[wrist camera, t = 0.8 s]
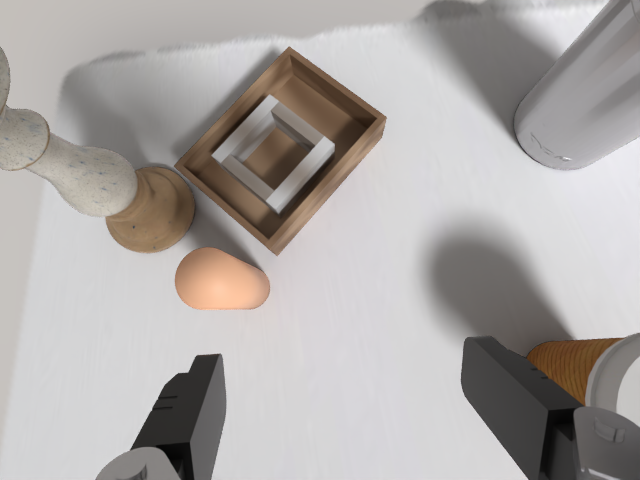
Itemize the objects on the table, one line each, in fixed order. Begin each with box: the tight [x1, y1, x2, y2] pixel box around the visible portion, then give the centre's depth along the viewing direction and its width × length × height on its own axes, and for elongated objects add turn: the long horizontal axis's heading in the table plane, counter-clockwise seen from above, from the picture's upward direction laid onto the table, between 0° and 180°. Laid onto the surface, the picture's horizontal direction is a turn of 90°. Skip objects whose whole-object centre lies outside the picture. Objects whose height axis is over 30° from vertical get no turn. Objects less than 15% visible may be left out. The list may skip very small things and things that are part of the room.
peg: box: [175, 247, 270, 310], centre depth 27 cm, size 4×4×11 cm
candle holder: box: [0, 47, 195, 253], centre depth 25 cm, size 9×9×20 cm
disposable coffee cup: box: [526, 333, 640, 427], centre depth 24 cm, size 10×10×12 cm
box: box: [174, 47, 387, 256], centre depth 33 cm, size 16×12×4 cm
